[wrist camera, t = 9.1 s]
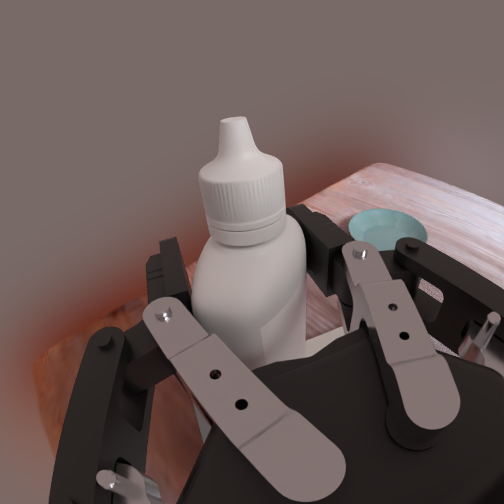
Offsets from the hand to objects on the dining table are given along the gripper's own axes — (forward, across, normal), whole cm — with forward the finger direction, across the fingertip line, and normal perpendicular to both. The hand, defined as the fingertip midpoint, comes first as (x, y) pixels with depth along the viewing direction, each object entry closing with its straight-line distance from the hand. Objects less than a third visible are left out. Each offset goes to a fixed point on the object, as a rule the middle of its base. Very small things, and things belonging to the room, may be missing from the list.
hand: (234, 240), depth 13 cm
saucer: (+17, -25, +18) cm, 35 cm away
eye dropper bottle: (-3, 0, +7) cm, 7 cm away
